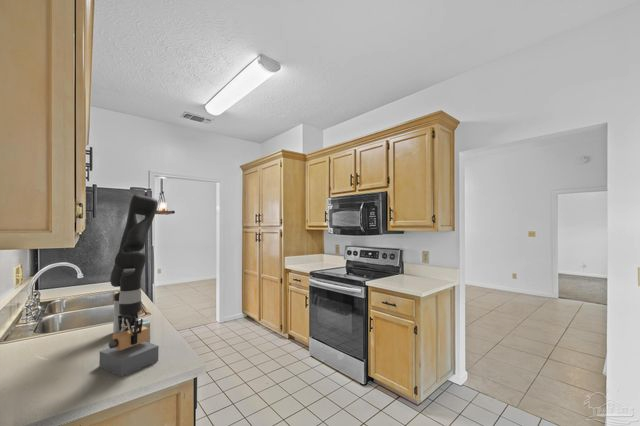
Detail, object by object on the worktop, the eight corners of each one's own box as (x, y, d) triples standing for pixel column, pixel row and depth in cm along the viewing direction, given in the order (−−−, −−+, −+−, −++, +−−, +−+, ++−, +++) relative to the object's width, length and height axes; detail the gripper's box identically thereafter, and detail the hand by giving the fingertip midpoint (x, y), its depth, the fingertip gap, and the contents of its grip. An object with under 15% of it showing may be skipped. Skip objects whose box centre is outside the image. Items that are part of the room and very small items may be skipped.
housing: (141, 337, 123) (141, 325, 123) (148, 340, 120) (148, 327, 120) (106, 349, 111) (106, 336, 111) (114, 352, 109) (114, 339, 109)
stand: (99, 366, 113) (99, 351, 114) (136, 352, 126) (136, 338, 126) (121, 376, 106) (121, 360, 106) (158, 360, 118) (158, 345, 118)
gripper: (150, 300, 116) (149, 342, 116) (130, 296, 123) (129, 335, 123) (130, 305, 110) (129, 350, 109) (110, 300, 117) (110, 342, 116)
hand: (129, 342), depth 116 cm, fingers closed on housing, 5 cm apart
